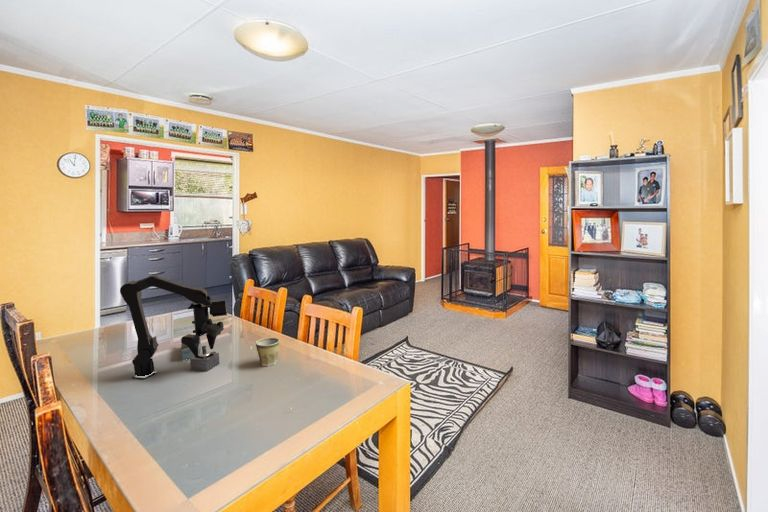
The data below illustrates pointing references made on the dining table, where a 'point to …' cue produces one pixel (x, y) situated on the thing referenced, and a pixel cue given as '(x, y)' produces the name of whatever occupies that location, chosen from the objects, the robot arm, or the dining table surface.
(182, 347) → the beverage carton
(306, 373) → the dining table surface
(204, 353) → the plunger
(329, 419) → the dining table surface
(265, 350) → the ceramic cup
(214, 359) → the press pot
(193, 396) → the dining table surface
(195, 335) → the robot arm
